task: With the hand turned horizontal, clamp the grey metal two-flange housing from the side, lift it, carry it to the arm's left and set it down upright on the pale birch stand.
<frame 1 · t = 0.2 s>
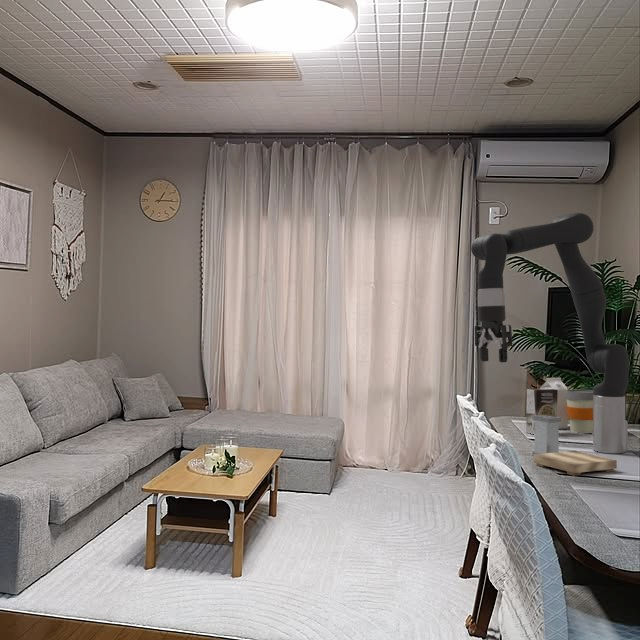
hand: (493, 361, 195), 29 cm above the table, tool pointing down, fingers open, 8 cm apart
milk carton: (553, 428, 261), on the table
reusable coffee cup: (583, 432, 251), on the table
housing: (546, 457, 202), on the table
birch stand: (574, 468, 187), on the table
coffee box: (541, 434, 247), on the table
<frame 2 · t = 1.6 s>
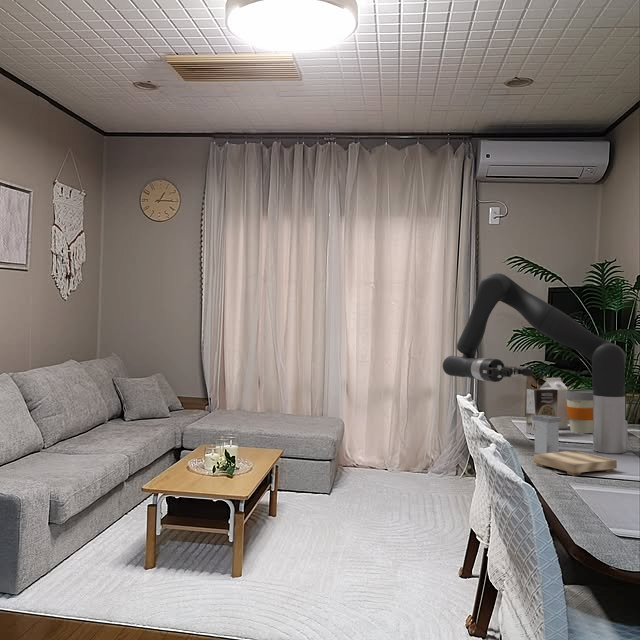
hand: (521, 373, 212), 24 cm above the table, tool horizontal, fingers open, 8 cm apart
nothing on the table moved.
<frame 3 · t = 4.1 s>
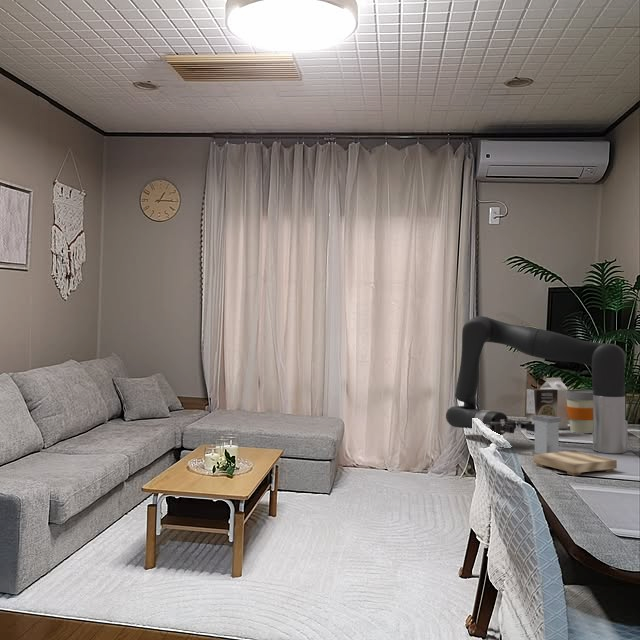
hand: (524, 429, 211), 7 cm above the table, tool horizontal, fingers open, 8 cm apart
nothing on the table moved.
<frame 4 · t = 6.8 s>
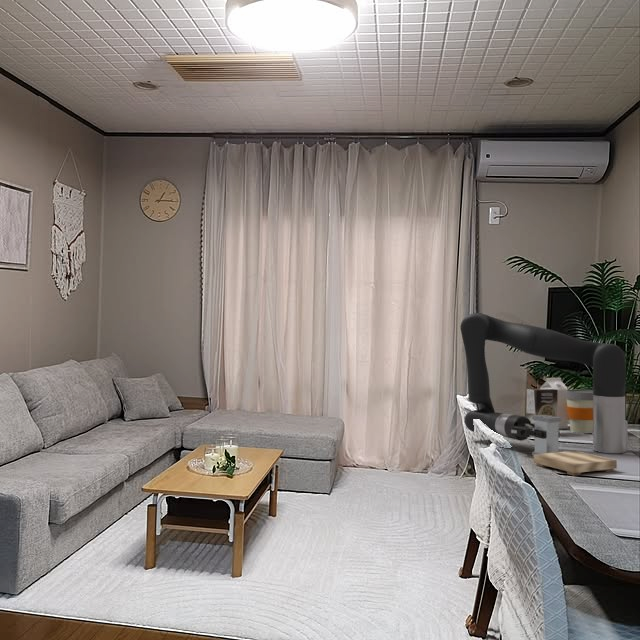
hand: (551, 434, 200), 7 cm above the table, tool horizontal, fingers closed on housing, 4 cm apart
housing: (546, 457, 202), on the table, touching gripper
everything else where it was.
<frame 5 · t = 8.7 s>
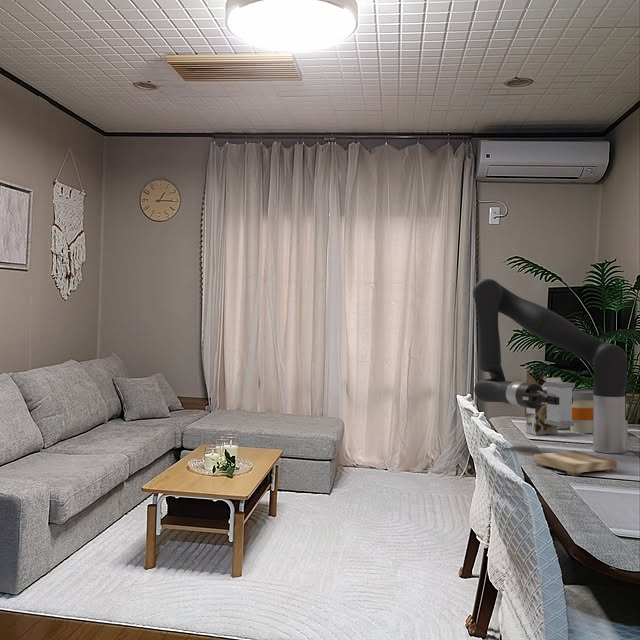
hand: (565, 400, 193), 18 cm above the table, tool horizontal, fingers closed on housing, 4 cm apart
housing: (559, 424, 195), point 11 cm above the table, touching gripper
everything else where it was.
when the fingers open (11 cm above the table, at t = 10.9 s): housing stays where it is, resting on birch stand.
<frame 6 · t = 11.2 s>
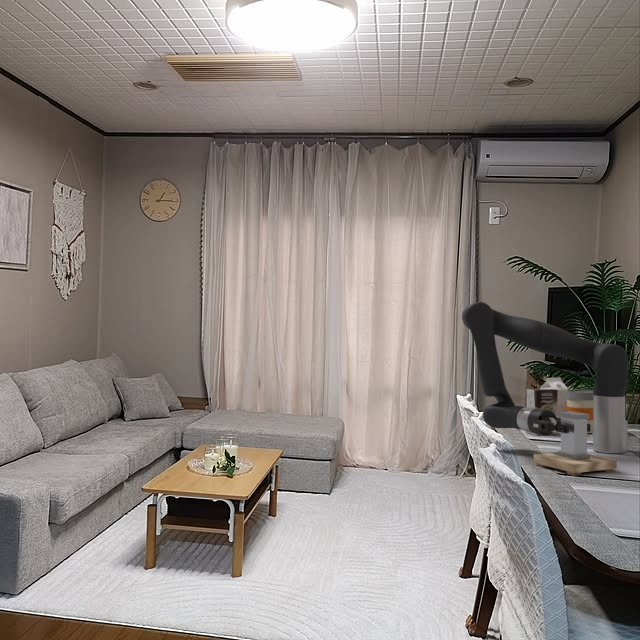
hand: (578, 428, 186), 11 cm above the table, tool horizontal, fingers open, 7 cm apart
housing: (573, 457, 187), point 3 cm above the table, touching birch stand
everything else where it was.
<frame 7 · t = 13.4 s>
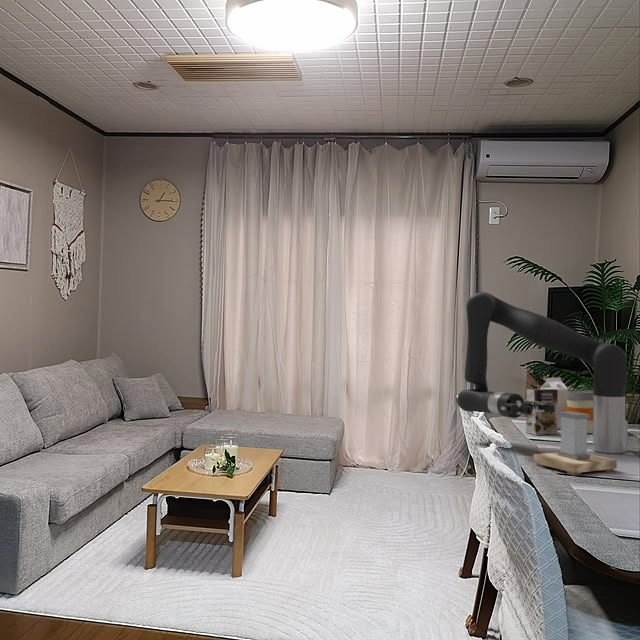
hand: (542, 409, 199), 14 cm above the table, tool horizontal, fingers open, 8 cm apart
nothing on the table moved.
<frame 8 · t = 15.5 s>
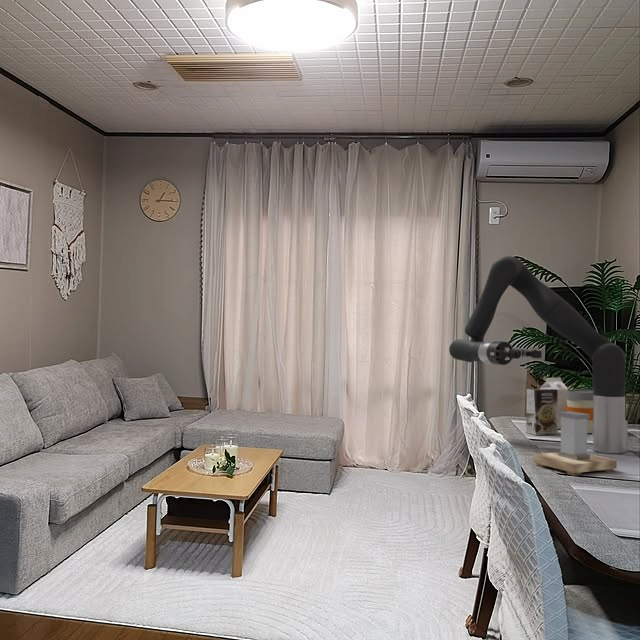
hand: (529, 354, 208), 30 cm above the table, tool horizontal, fingers open, 8 cm apart
nothing on the table moved.
at the end: housing 0.2 cm from the birch stand (horizontally); housing touching birch stand; housing tilted 0° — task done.
